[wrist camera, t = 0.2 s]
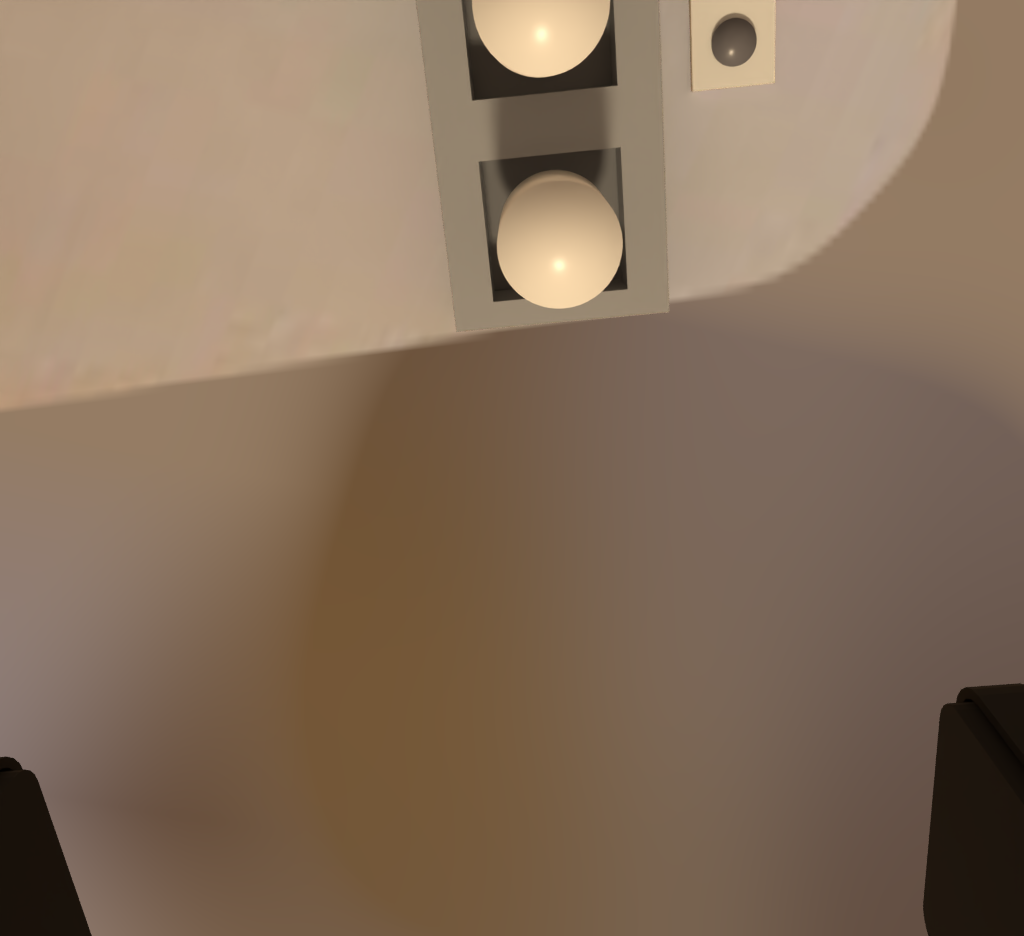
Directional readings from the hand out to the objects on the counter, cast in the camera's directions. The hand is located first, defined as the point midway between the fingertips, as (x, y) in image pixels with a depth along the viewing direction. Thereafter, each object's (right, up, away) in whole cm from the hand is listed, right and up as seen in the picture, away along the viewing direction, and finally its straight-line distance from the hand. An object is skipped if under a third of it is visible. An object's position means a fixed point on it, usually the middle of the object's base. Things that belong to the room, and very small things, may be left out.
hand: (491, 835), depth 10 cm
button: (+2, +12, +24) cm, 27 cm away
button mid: (+1, +19, +21) cm, 28 cm away
